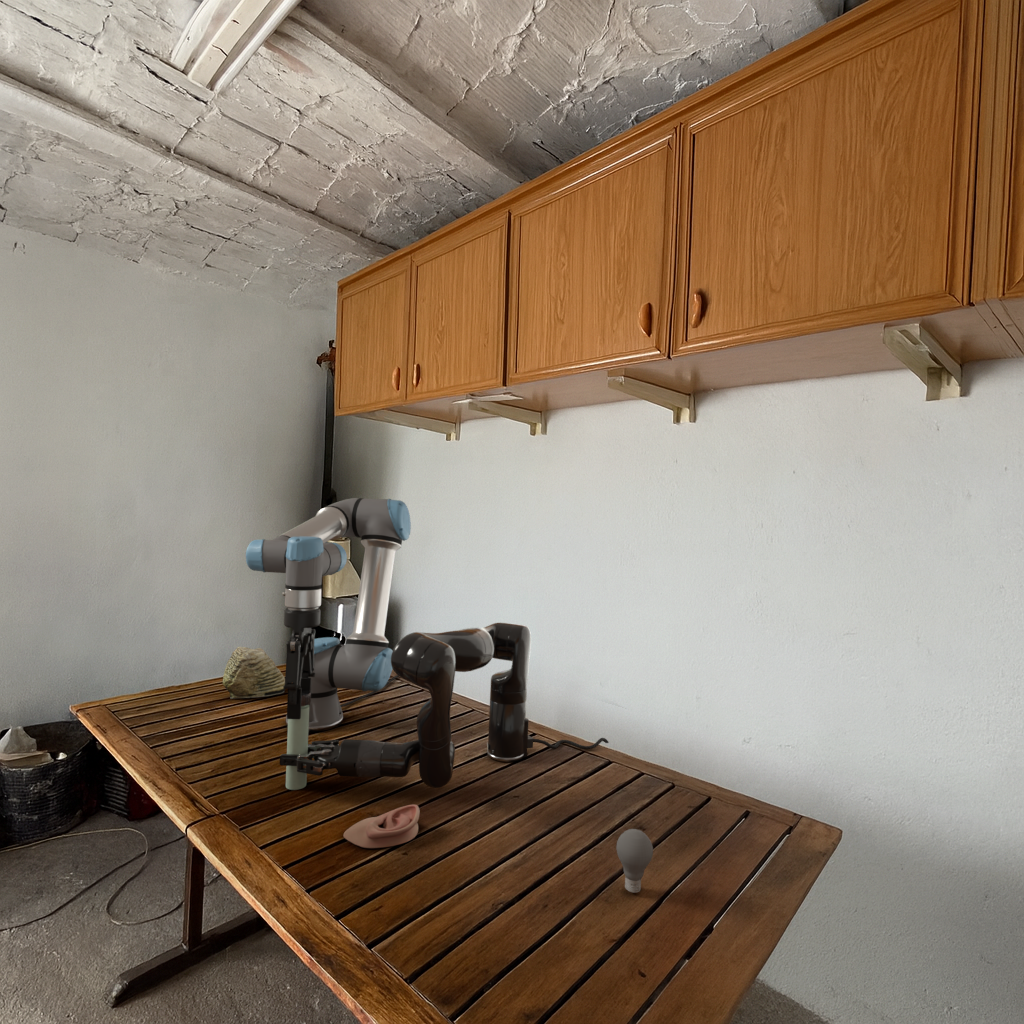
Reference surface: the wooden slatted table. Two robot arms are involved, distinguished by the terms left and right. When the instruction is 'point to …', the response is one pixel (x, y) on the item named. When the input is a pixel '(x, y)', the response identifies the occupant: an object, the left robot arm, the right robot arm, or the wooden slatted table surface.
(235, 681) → the fossil
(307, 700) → the lid
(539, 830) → the wooden slatted table surface
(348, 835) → the anatomical model
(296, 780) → the pale green tube
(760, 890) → the wooden slatted table surface
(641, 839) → the light bulb
